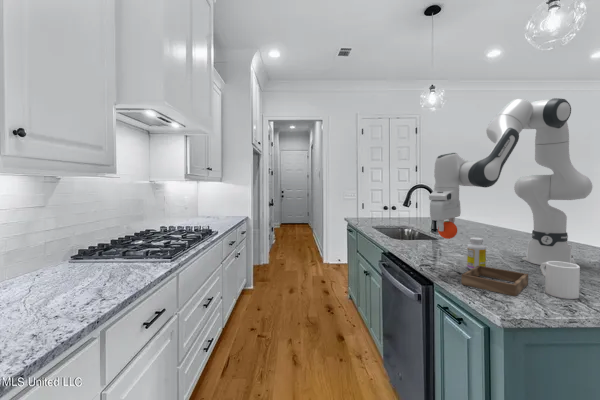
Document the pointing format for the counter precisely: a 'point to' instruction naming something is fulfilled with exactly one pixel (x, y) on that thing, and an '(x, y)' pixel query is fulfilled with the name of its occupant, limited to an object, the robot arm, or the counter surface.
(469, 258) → the supplement bottle
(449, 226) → the clementine
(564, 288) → the mug
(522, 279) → the wooden frame
